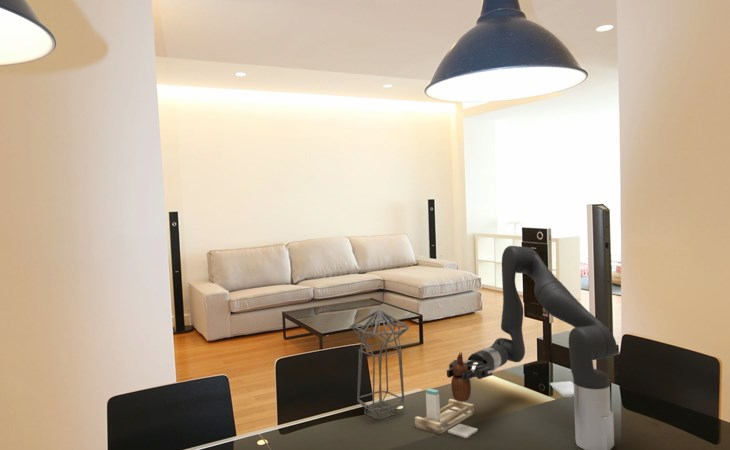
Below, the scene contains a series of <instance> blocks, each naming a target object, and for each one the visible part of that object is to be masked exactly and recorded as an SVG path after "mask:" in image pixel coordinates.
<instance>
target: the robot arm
mask: <svg viewBox="0 0 730 450" xmlns="http://www.w3.org/2000/svg"><path fill="white" fill-rule="evenodd" d="M516 274H524V275H527V276H528V277H530V278H531V279H532V281H534V290H533V292H534V296H535V297H534V298H535V299H536V300H537V302H538V303H539V304H540V305H541V306H542V308H543V309H544V310H545V311H546V312H547V313H548V314H549V315H551V316H553V317H554V318H555V319H558V320H560V321H561V322H563V323H566V324H568V325H570V326H571V327H574V328H572V329H571V330H570V332H569V335H568V352H569V361H570V371H571V374H572V377H573V383H574V397H573V401H574V402H573V405H574V428H575V429H574V430H575V431H574V432H575V434H574V435H575V443H576V446H577V447H579V448H580V449H583V450H611V449H613V447H614V446H615V427H614V423H615V422H614V411H612V410H611V390H610V389H611V388H610V377H609V375H608V373H607V372H604V371H603V370H599V369H596V368H594V362H593V361H596V360H603V359H608V358H611V357H612V356H614V355H615V354H616V351H617V342H616V339H615V336H614V335H613V333H612V331H610V329H609V327H607V326H606V325H605V324H604V323H603V322H602V321H600V320H599V319H598V318H597V317H596V316H594V315H593V314H592V313H591V312H590V311H589V310H587V308H586V307H584V306H583V304H582V303H580V302H579V300H578V299H576V297H574V295H573V294H572V293H571V292H570V291H569V289H567V287H566V286H565V285H564V284H563V282H562V281H560V280H559V279H558V278H557V277H556V275H555V274H553V272H552V271H551V270H550V269H549V268H548V267H547V265H546V263H544V261H543V259H542V258H541V257H540V255H539V254H538V253H537V252H536V251H535V250H534V249H533V248H531V247H528V246H519V245H509V246H507V247H505V248H504V250H503V251H502V256H501V280H502V283H501V284H502V300H503V301H502V312H501V313H502V314H501V323H500V329H501V331H503V333H505V334H508V335H509V336H510V338H511V339H509V338H506V337H499V338H497V339H496V340H495V341H494V342H493V344H492V345H491V346H489V347H486V348H482V349H480V350H478V351H476V352H473V353H471V354H470V355H469V356H468V358H467V360H465V361H464V360H463V363H466V365H467V367H468V371H466V372H464V373H463V374H462V380H463V381H466V380H468V379H470V380H471V379H475V378H476V379H478V380H481V379H482V380H483V379H485V378H488V377H491V376H493V372H495V371H496V370H497V369H499V368H501V367H502V366H503V365H506V363H507V361H510V362H513V363H520V362H521V361H523V360H524V358H525V354H526V347H525V341H524V336H523V335H524V334H523V322H524V304H523V302H522V299H521V297H520V295H519V292H518V289H517V286H516ZM456 362H457V359H454V360H453V361H451V363H449V364H448V369H447V370H446V377H447V378H452V377H453V376H454V373H453V365H454V363H456Z"/></svg>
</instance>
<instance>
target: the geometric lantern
mask: <svg viewBox="0 0 730 450" xmlns="http://www.w3.org/2000/svg"><path fill="white" fill-rule="evenodd" d="M367 319H368V320H367ZM366 320H367V321H366ZM364 321H366V322H365V323H364V324H360V323H361V322H364ZM381 323H382V324H383V329H384V332H380V328H381V327H380V326H381ZM398 324H399V325H398ZM386 325H387V326H388V328H389V329H390V331H391V332H388V330H387V326H386ZM373 326H374V328H373ZM359 327H360V328H359ZM348 328H351V329H352V330H353V331H354V332H355V334H356V335H357V336H358V340H359V341H360V340H361V341H360V348H359V349H358V350H357V351H358V365H357V366H358V371H357V394H356V395H357V397H356V398H357V399H356V400H357V402H358V404H360V405H361V407H363V408H364V411H363V412H364V415H365V414H366V416H367V417H370V416H371V417H370V418H372V417H373V419H375V420H377V419H378V421H379V420H380V419H381V420H384V419H386V418H389V417H391V415H392V416H394V415H396V414H397V409H398V408H399V407H401V406H402V405H404V404H405V392H404V374H403V373H404V372H403V356H402V348H401V342H400V338H401V336H402V335H403V334H404V333H406V332H407V331H408V330H409V329H410V326H409V325H407V324H406V323H404V322H402V321H401V320H399V319H397V318H395V317H393V316H392V315H390V314H389V313H387V312H385V311H384V310H381V309H380V310H375V311H374V312H372V313H370V314H369V315H367V316H365V317H363V318H362V319H360V320H358V321H356V322H354V323H353V324H350V325H349V327H348ZM368 328H370V331H368ZM377 328H378V330H377ZM396 328H398V330H397V331H395V329H396ZM401 328H402V329H401ZM357 330H358V331H357ZM376 331H378V332H377V333H378V334H377V333H376ZM360 332H361V333H362V336H361V335H360ZM366 335H369V336H368V337H366V338H365V336H366ZM384 335H386V337H385V336H384ZM392 335H393V337H394V338H392V339H391V337H392ZM373 336H375V337H376V338H377V340H378V341H379V342H380V343H377V344H373V345H369V343H368V340H369V339H370V338H372V337H373ZM378 336H380V337H381V338H382V339H384V340H385V341H386V342H385V343H383V342H382V341H381V339H379V337H378ZM397 339H398V342H397ZM364 342H365V344H366V346H363V344H364ZM391 342H394V343H395V347H394V346H391V345H390V344H388V343H391ZM398 345H399V346H398ZM376 346H379V347H380V349H379V350H380V351H379V353H378V354H374V352H373V351H372V348H371V347H376ZM387 347H389V348H391V349H395V350H397V351H393V352H389V353H388V348H387ZM367 348H368V350H369V351H370V352H369V353H368V352H367V351H364V350H363V349H367ZM384 349H385V351H384ZM383 351H384V352H385V353H384V354H383ZM363 353H364V354H367V355H369V356H371V357H372V392H371V393H368V394H367V393H366V394H364V395H363V394H362V395H361V383H362V380H361V379H362V369H363V368H362V366H363ZM392 354H393V355H394V354H397V356H398V365H399V366H398V367H399V377H400V378H399V381H400V388H401V389H400V390H401V396H398V395H397V394H395V393H392V392H390V391H389V373H388V372H389V371H388V355H392ZM384 356H385V376H386V377H385V380H386V381H385V382H386V383H385V384H386V390H382V363H383V362H382V357H384ZM376 357H377V358H378V360H377V361H378V377H379V378H378V380H379V382H378V383H379V385H378V386H379V387H378V391H375V378H376V377H375V367H376V364H375V363H376V361H375V360H376V359H375V358H376ZM383 393H385V394H384V396H383V395H382V394H383ZM375 394H378V401H375ZM387 394H388V395H391V396H393V397H396V398H398V399H400V401H399V402H398V403H395V404H391V403H389V402H386V401H384V400H385V399H386V396H387ZM371 395H372V403H370V404H367V403H365V402H364V401H362V400H361V399H362V398H365V397H368V396H371ZM377 403H378V406H377V407H375V404H377ZM384 404H386V405H388V406H384ZM393 407H394V408H393ZM383 410H385V411H383ZM378 411H380V412H378ZM370 412H372V413H375V414H377V417H375V416H373V415H370V414H369V413H370ZM387 412H392V413H391V414H389V415H386V416H384V417H383V414H385V413H387Z"/></svg>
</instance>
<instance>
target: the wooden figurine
mask: <svg viewBox="0 0 730 450" xmlns="http://www.w3.org/2000/svg"><path fill="white" fill-rule="evenodd" d="M463 359H464V358H463V352H462V351H461V352H458V355H457V357H456V360H457V362H456V363H454V365H453V373H454V376H452V377H451V383H450V386H451V393H452V397H453V398H454V399H453V400H457V401H460V402H468V400H469V399H470V398H471V390H472V387H471V386H472V385H471V383H472V382H471V378H470V379H468V380H466V381H463V380H462V374H463V373H464V372H466V371H468V367H467V365H466V363H463V362H464V360H463Z"/></svg>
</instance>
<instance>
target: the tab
mask: <svg viewBox="0 0 730 450" xmlns="http://www.w3.org/2000/svg"><path fill="white" fill-rule="evenodd" d="M425 403H426V404H425V405H426V406H425V407H426V416H427V419H429V420H432V421H436V422H440V409H441V407H440V405H441V404H440V390H438V389H435V388H427V389H425Z"/></svg>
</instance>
